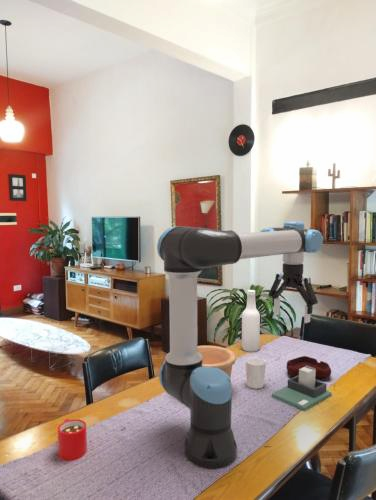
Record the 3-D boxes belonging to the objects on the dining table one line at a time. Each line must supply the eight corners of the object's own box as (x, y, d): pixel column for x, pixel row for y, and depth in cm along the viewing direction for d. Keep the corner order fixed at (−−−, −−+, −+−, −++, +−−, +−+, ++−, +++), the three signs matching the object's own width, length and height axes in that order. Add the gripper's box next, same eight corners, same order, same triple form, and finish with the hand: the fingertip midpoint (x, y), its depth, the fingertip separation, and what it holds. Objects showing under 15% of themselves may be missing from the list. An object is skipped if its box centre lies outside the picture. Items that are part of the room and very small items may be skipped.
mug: (76, 434, 123) (76, 410, 122) (90, 454, 113) (90, 428, 112) (51, 443, 118) (50, 418, 118) (63, 464, 108) (62, 437, 108)
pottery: (172, 400, 145) (172, 363, 143) (186, 376, 166) (186, 343, 164) (231, 407, 139) (231, 368, 138) (238, 381, 161) (238, 347, 159)
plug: (307, 393, 148) (308, 371, 147) (298, 389, 151) (299, 368, 150) (314, 389, 151) (315, 368, 150) (305, 385, 154) (306, 365, 153)
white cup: (264, 381, 161) (264, 357, 160) (266, 390, 153) (266, 365, 152) (244, 380, 162) (245, 356, 161) (245, 389, 154) (246, 364, 153)
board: (304, 411, 137) (304, 399, 137) (271, 396, 148) (272, 385, 147) (331, 395, 149) (331, 384, 148) (299, 383, 159) (299, 373, 159)
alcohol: (249, 345, 204) (250, 288, 201) (262, 349, 198) (264, 290, 195) (238, 348, 199) (238, 290, 196) (251, 353, 192) (252, 293, 189)
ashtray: (325, 367, 176) (325, 356, 176) (332, 383, 160) (333, 371, 159) (284, 365, 179) (284, 354, 178) (287, 380, 163) (288, 368, 162)
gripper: (329, 265, 140) (326, 323, 142) (272, 259, 159) (271, 310, 161) (317, 267, 135) (315, 327, 138) (260, 260, 154) (259, 313, 156)
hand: (291, 318), depth 149 cm, fingers open, 13 cm apart
